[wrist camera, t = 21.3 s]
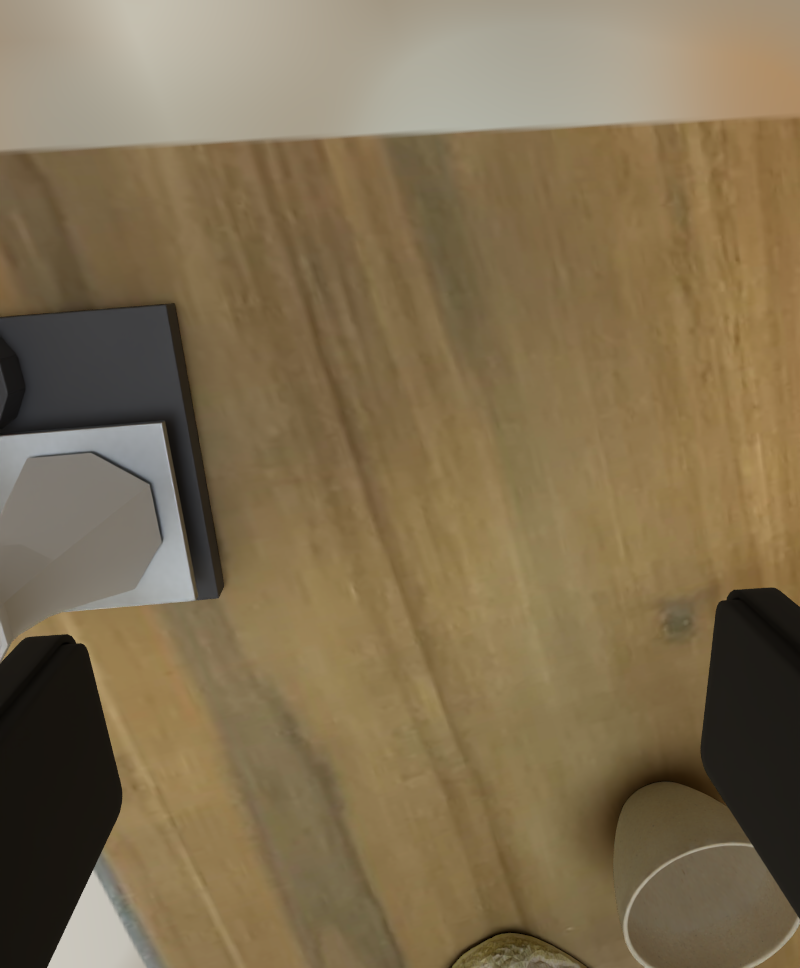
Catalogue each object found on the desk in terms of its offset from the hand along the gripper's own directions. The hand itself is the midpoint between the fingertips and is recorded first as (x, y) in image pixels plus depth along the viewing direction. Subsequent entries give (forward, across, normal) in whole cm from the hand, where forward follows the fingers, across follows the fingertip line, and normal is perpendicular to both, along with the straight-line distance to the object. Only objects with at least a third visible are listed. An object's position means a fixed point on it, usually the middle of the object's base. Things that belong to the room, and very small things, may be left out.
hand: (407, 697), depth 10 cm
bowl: (+24, -16, +28) cm, 40 cm away
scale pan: (+21, +15, +5) cm, 26 cm away
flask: (+21, +15, +5) cm, 26 cm away
